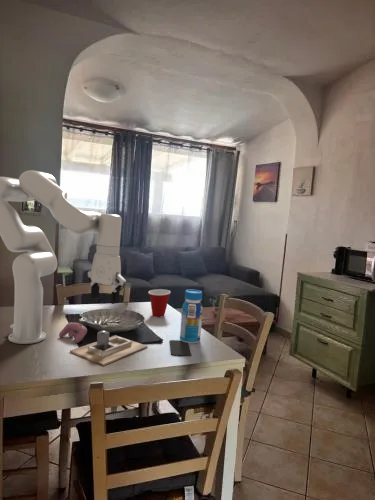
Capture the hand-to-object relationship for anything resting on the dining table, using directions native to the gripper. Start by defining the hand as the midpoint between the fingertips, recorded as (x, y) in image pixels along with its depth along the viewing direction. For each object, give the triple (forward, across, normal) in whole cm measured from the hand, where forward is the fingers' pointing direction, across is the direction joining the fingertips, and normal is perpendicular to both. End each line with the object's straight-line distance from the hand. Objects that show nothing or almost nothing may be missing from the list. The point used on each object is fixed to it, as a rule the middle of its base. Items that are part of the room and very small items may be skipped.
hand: (104, 300), depth 127 cm
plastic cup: (+19, -14, +50) cm, 56 cm away
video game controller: (+19, -17, +2) cm, 25 cm away
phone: (+19, +18, +23) cm, 34 cm away
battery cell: (+18, +1, 0) cm, 18 cm away
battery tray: (+18, +1, +4) cm, 19 cm away
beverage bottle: (+18, +16, +33) cm, 41 cm away
